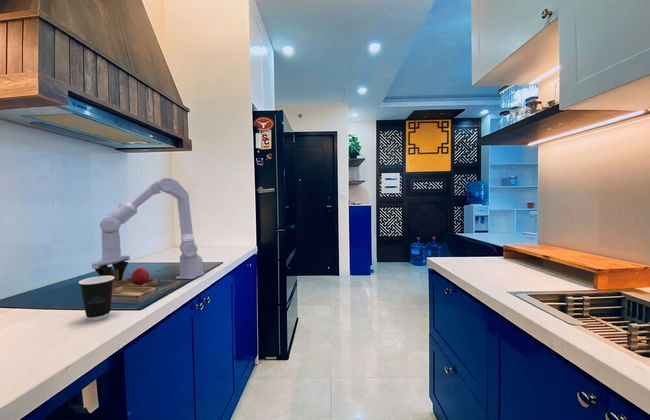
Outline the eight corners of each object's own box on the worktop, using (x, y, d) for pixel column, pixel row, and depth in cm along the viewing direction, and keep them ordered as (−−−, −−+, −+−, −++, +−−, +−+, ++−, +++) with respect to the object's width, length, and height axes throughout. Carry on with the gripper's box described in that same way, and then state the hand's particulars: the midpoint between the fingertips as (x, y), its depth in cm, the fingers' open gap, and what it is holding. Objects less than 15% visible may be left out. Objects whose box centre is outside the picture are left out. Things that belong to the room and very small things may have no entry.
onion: (143, 289, 105) (142, 267, 105) (127, 289, 105) (126, 268, 105) (152, 284, 111) (152, 264, 111) (138, 284, 111) (137, 264, 111)
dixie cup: (104, 310, 86) (103, 274, 86) (122, 313, 83) (120, 276, 83) (73, 320, 79) (72, 281, 78) (91, 325, 76) (90, 284, 76)
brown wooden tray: (146, 283, 114) (146, 279, 114) (180, 285, 112) (180, 281, 111) (97, 302, 94) (97, 297, 94) (138, 304, 91) (138, 299, 91)
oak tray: (113, 291, 104) (112, 274, 103) (157, 293, 101) (156, 275, 101) (90, 300, 95) (89, 280, 95) (137, 302, 92) (137, 282, 92)
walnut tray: (119, 283, 115) (118, 267, 114) (159, 284, 112) (158, 268, 112) (99, 289, 106) (98, 272, 106) (141, 291, 103) (141, 274, 103)
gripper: (118, 244, 117) (119, 277, 118) (83, 251, 103) (85, 288, 104) (133, 245, 116) (134, 277, 117) (100, 251, 102) (102, 288, 103)
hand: (112, 282), depth 110 cm, fingers open, 5 cm apart
